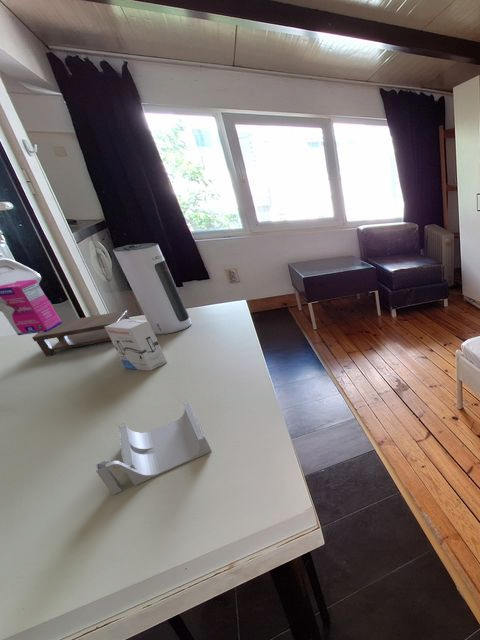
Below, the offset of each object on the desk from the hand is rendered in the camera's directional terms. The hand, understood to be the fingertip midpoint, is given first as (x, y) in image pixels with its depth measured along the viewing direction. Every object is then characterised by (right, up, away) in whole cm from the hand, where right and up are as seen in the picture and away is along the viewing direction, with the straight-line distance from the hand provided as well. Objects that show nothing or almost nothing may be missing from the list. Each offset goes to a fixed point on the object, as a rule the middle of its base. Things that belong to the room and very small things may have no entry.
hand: (29, 306), depth 85 cm
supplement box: (0, -6, +3) cm, 6 cm away
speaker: (+9, -4, +31) cm, 32 cm away
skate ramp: (+48, -28, -20) cm, 59 cm away
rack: (-10, -8, +24) cm, 27 cm away
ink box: (+20, -14, +9) cm, 26 cm away
